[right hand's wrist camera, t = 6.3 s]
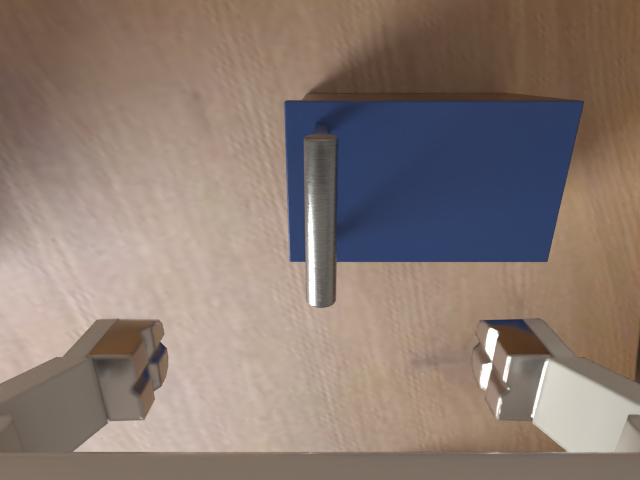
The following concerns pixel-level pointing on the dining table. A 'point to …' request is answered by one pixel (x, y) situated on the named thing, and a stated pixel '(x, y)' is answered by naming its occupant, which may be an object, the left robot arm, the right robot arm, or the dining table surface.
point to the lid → (423, 181)
